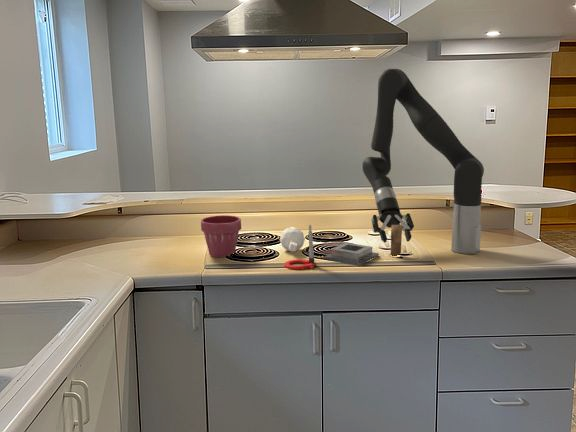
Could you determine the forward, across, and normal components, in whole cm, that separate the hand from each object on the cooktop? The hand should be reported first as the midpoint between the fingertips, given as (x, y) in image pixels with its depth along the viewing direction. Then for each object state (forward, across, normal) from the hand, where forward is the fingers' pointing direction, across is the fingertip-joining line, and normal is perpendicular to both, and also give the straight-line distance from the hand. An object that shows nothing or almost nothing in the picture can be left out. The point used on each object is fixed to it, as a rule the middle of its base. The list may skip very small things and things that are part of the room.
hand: (397, 240), depth 196 cm
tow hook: (+7, -35, +2) cm, 36 cm away
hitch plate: (+2, -16, +6) cm, 17 cm away
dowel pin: (+3, 0, +5) cm, 6 cm away
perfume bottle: (-6, -35, +15) cm, 38 cm away
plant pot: (-7, -59, +16) cm, 62 cm away
